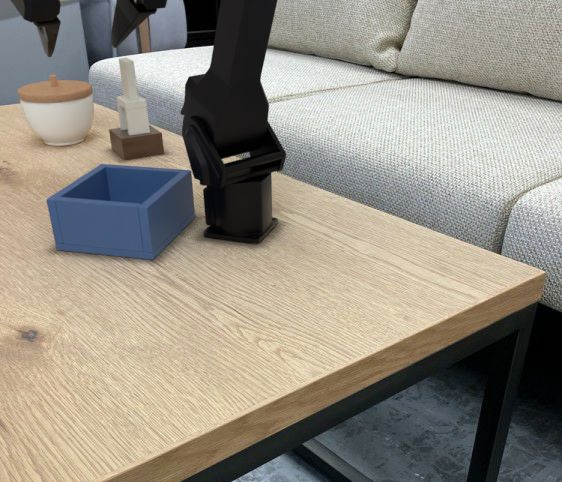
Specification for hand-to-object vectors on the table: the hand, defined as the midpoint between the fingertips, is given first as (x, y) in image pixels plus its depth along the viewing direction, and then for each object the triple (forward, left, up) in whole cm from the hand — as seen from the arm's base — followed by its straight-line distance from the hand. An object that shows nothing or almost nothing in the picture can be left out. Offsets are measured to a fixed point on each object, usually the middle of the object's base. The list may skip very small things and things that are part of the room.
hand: (81, 50), depth 88 cm
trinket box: (+13, -10, -15) cm, 22 cm away
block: (-1, -8, -15) cm, 17 cm away
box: (-16, +20, -15) cm, 29 cm away
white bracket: (-1, -8, -12) cm, 14 cm away
